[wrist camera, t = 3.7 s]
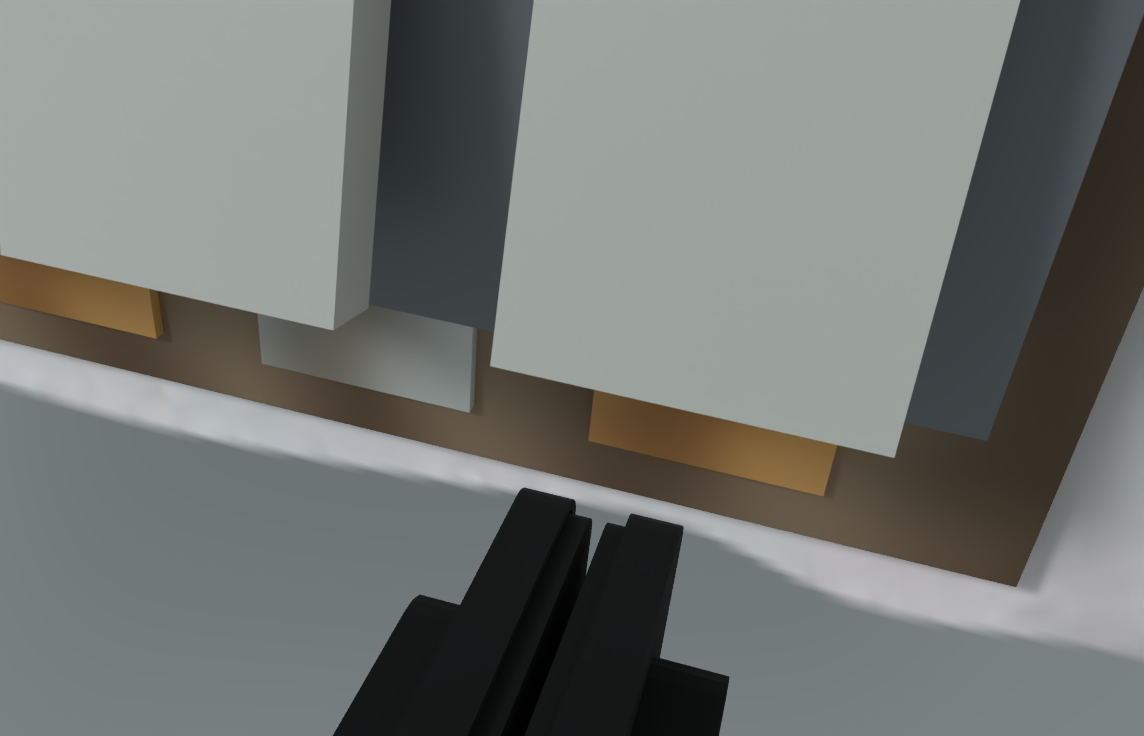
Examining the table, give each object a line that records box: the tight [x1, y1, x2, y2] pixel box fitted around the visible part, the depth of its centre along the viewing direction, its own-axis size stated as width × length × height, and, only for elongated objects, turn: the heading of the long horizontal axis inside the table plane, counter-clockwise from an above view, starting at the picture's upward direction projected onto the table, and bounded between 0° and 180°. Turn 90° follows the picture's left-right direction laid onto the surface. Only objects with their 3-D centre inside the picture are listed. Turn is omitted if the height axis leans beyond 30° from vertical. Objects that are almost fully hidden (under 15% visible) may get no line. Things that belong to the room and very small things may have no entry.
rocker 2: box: [490, 0, 1020, 458], centre depth 14 cm, size 6×8×1 cm
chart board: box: [0, 15, 1144, 587], centre depth 21 cm, size 30×20×1 cm, turn 85°
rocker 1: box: [0, 0, 391, 330], centre depth 15 cm, size 6×8×1 cm
